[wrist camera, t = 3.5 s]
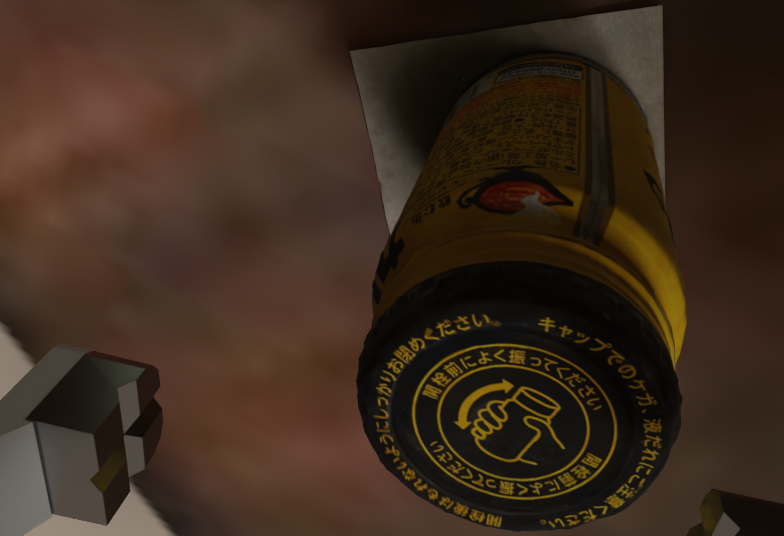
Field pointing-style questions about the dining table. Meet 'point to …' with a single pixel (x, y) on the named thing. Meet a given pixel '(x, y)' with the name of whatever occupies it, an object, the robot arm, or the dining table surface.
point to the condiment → (523, 270)
